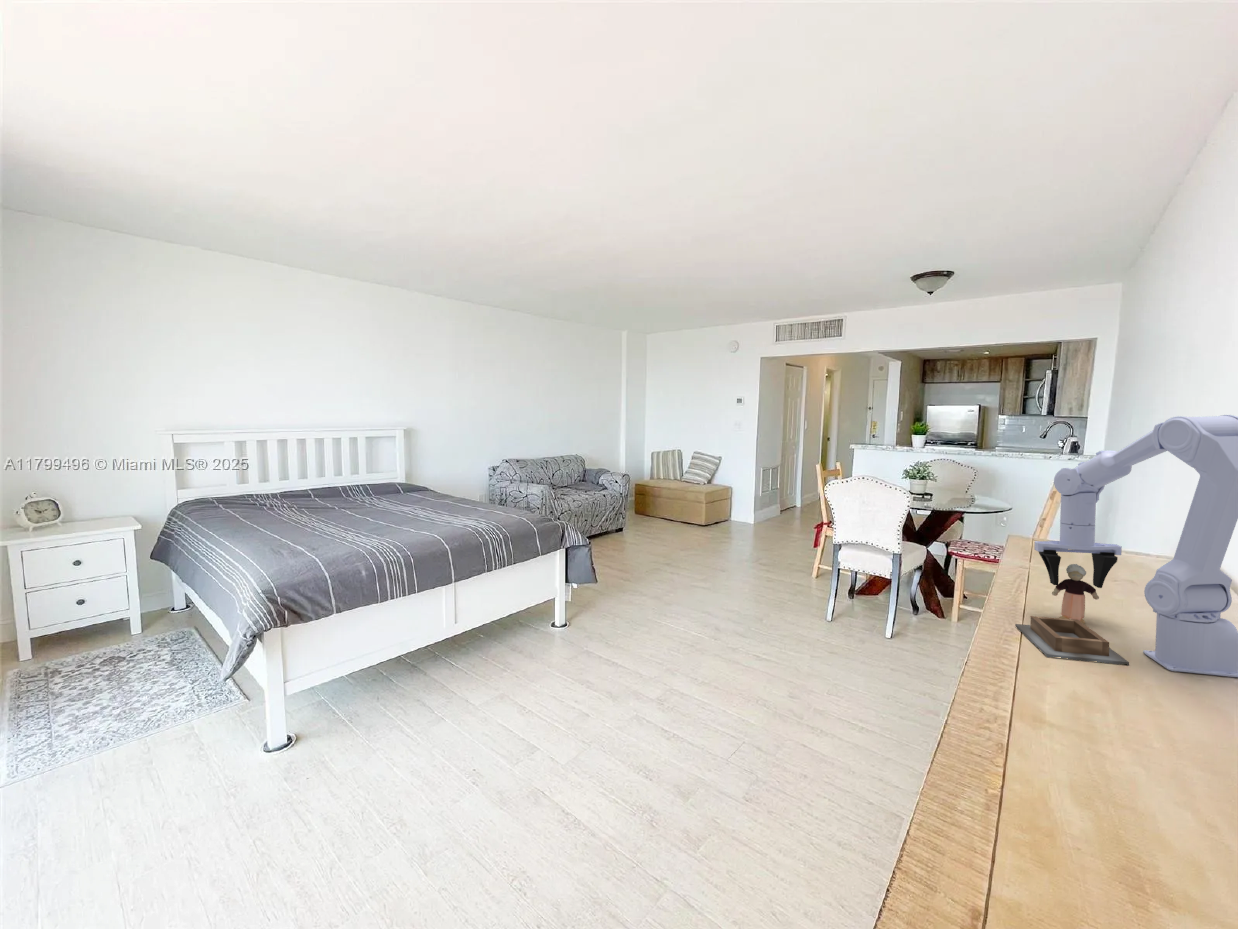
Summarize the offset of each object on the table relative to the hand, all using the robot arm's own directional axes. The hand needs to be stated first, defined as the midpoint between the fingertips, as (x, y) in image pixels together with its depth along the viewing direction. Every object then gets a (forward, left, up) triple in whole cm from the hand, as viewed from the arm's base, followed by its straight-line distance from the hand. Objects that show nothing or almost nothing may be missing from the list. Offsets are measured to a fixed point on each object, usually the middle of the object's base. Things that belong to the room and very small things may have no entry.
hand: (1075, 585), depth 114 cm
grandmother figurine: (0, 0, -8) cm, 8 cm away
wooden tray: (+7, +15, -8) cm, 18 cm away
